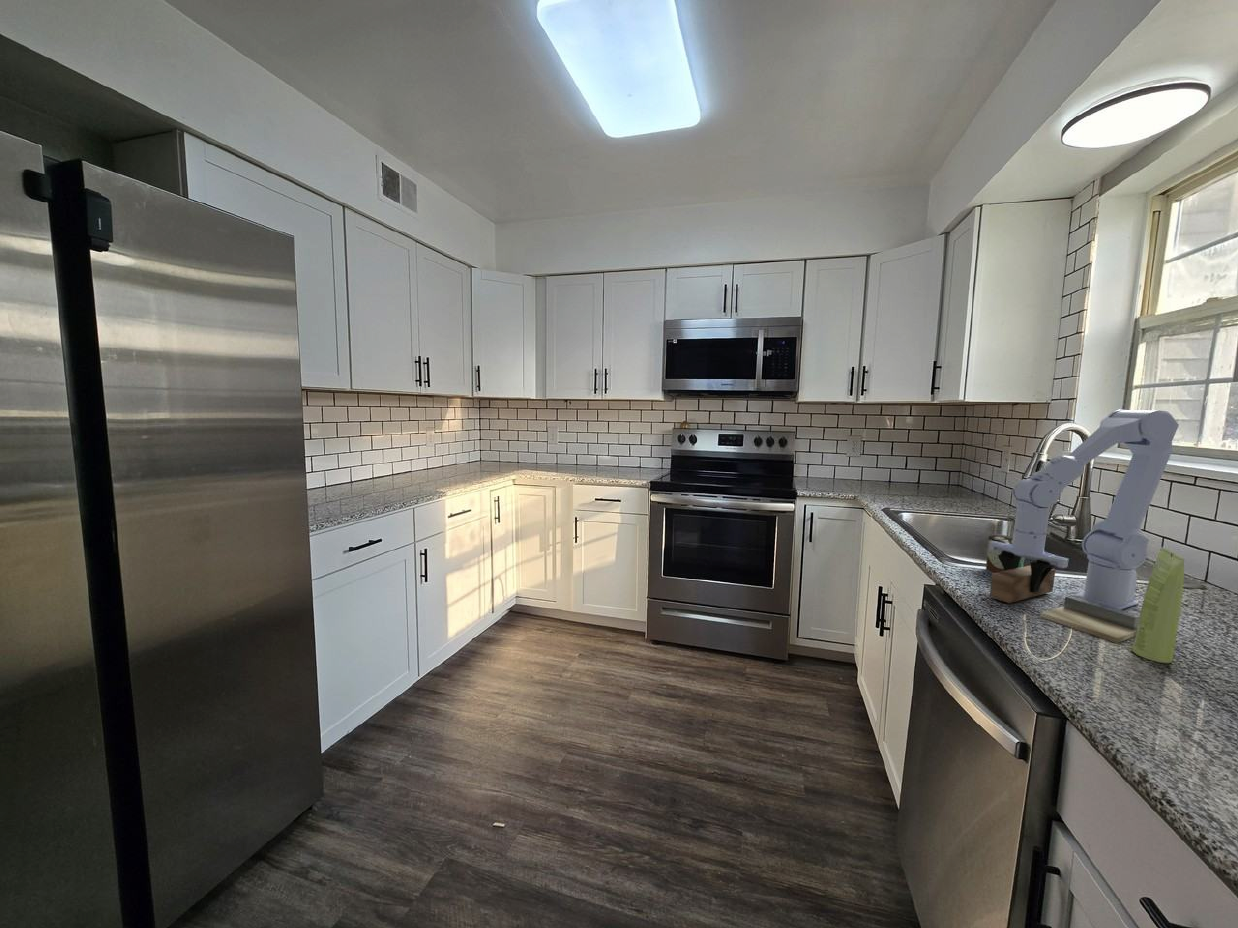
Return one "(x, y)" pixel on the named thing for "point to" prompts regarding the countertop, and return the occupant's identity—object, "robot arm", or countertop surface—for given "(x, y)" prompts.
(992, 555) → the food container
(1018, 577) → the walnut bar
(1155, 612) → the tube
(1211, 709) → the countertop surface
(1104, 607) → the balance stand
